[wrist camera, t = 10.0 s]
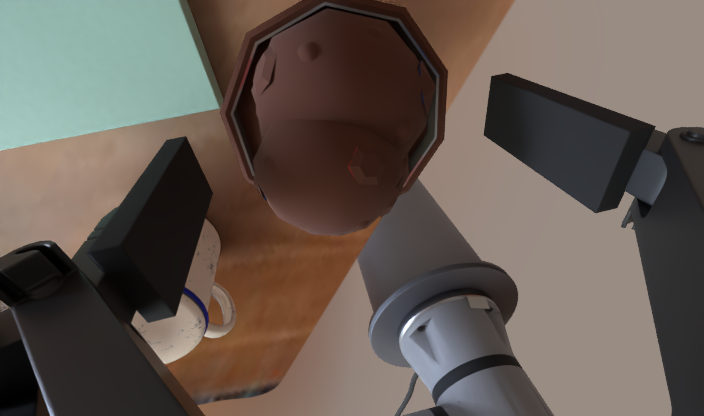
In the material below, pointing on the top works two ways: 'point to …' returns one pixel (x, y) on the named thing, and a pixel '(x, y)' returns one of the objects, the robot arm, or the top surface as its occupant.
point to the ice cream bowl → (335, 111)
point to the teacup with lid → (192, 306)
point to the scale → (98, 67)
